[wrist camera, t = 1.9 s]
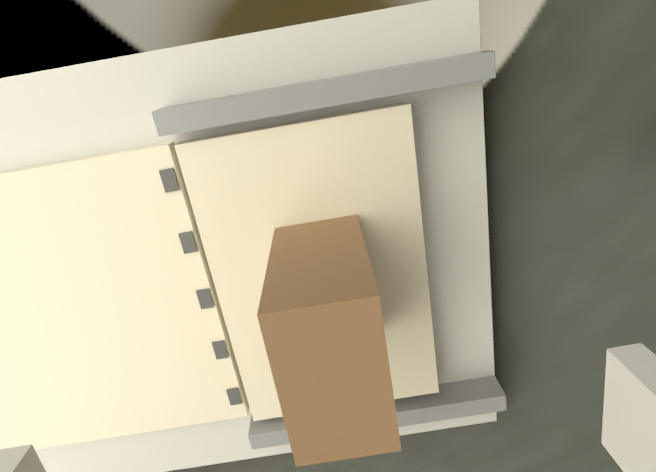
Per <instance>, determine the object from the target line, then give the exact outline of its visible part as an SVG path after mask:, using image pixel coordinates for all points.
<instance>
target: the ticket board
mask: <svg viewBox="0 0 656 472" xmlns="http://www.w3.org/2000/svg"><path fill="white" fill-rule="evenodd" d="M491 78H496V68H495V51H481V39H480V16H479V0H430V1H425V2H419V3H414V4H409V5H403V6H397V7H392V8H387V9H381V10H375V11H370V12H364V13H359V14H353V15H348V16H342V17H337V18H331V19H326V20H320V21H315V22H309V23H304V24H299V25H293V26H287V27H282V28H276V29H271V30H265V31H260V32H254V33H248V34H243V35H237V36H232V37H226V38H221V39H216V40H210V41H205V42H199V43H193V44H188V45H182V46H177V47H171V48H166V49H160V50H155V51H149V52H143V53H138V54H132V55H127V56H121V57H116V58H110V59H105V60H99V61H94V62H88V63H83V64H77V65H72V66H66V67H61V68H55V69H50V70H44V71H39V72H33V73H28V74H22V75H17V76H11V77H5V78H0V449H6V448H12V447H18V446H24V445H30V444H32V445H33V447H34V449H35V451H36V453H37V455H38V457H39V459H40V461H41V463H42V465H43V467H44V469H45V470H46V472H166V471H172V470H179V469H185V468H192V467H198V466H205V465H211V464H218V463H224V462H231V461H237V460H244V459H250V458H257V457H263V456H270V455H276V454H283V453H289V452H292V450H291V446H290V442H289V438H288V434H287V430H286V426H285V422H284V418H283V417H277V418H271V419H264V420H258V421H253V417H252V414H251V410H250V407H249V403H248V400H247V396H246V393H245V389H244V386H243V382H242V379H241V376H240V372H239V369H238V365H237V362H236V358H235V355H234V351H233V348H232V344H231V341H230V337H229V334H228V330H227V327H226V324H225V320H224V317H223V313H222V310H221V306H220V303H219V299H218V296H217V292H216V289H215V285H214V282H213V278H212V275H211V272H210V268H209V265H208V261H207V258H206V254H205V251H204V247H203V244H202V240H201V237H200V233H199V230H198V227H197V223H196V220H195V216H194V213H193V209H192V206H191V202H190V199H189V195H188V192H187V188H186V185H185V181H184V178H183V175H182V171H181V168H180V164H179V161H178V157H177V154H176V150H175V147H174V145H175V144H177V143H178V142H181V141H187V140H193V139H199V138H204V137H210V136H216V135H221V134H227V133H233V132H239V131H244V130H250V129H256V128H261V127H267V126H273V125H279V124H284V123H290V122H296V121H301V120H307V119H313V118H319V117H324V116H330V115H336V114H341V113H347V112H353V111H359V110H364V109H370V108H376V107H382V106H387V105H393V104H399V103H404V102H408V103H410V104H411V111H412V122H413V132H414V142H415V152H416V163H417V173H418V183H419V193H420V204H421V214H422V224H423V234H424V244H425V255H426V265H427V275H428V285H429V296H430V306H431V316H432V326H433V337H434V347H435V357H436V367H437V377H438V388H439V392H438V393H431V394H425V395H418V396H412V397H406V398H399V399H394V401H395V408H396V415H397V422H398V429H399V436H400V435H407V434H413V433H420V432H426V431H433V430H439V429H446V428H452V427H459V426H465V425H472V424H478V423H485V422H491V421H497V419H496V412H500V411H506V395H505V393H504V391H503V389H502V388H501V386H500V384H499V382H498V381H497V379H496V377H495V371H494V348H493V324H492V300H491V276H490V253H489V229H488V205H487V181H486V158H485V134H484V110H483V86H482V80H484V79H491Z"/></svg>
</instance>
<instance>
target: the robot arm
mask: <svg viewBox="0 0 656 472" xmlns="http://www.w3.org/2000/svg"><path fill="white" fill-rule="evenodd" d="M601 443H602V444H603V446H604V447H605V448H606V450H607V451H608V452H609V453H610V455H611V456H612V457H613V459H614V460H615V461H616V463H617V464H618V465H619V467H620V468H621V469H622V471H623V472H656V355H655V354H654V353H652V352H651V351H650V350H649V349H648V348H647V347H645V346H644V345H643V344H642V343H638V344H632V345H626V346H620V347H614V348H608V349H607V357H606V374H605V391H604V408H603V425H602V442H601ZM0 472H46V470H45V469H44V467H43V465H42V463H41V461H40V459H39V457H38V455H37V453H36V451H35V449H34V447H33V445H32V444H30V445H24V446H18V447H12V448H6V449H0Z"/></svg>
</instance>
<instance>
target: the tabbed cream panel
mask: <svg viewBox="0 0 656 472" xmlns="http://www.w3.org/2000/svg"><path fill="white" fill-rule="evenodd" d="M174 147H175V150H176V154H177V157H178V161H179V164H180V168H181V171H182V175H183V178H184V181H185V185H186V188H187V192H188V195H189V199H190V202H191V206H192V209H193V213H194V216H195V220H196V223H197V227H198V230H199V233H200V237H201V240H202V244H203V247H204V251H205V254H206V258H207V261H208V265H209V268H210V272H211V275H212V278H213V282H214V285H215V289H216V292H217V296H218V299H219V303H220V306H221V310H222V313H223V317H224V320H225V324H226V327H227V330H228V334H229V337H230V341H231V344H232V348H233V351H234V355H235V358H236V362H237V365H238V369H239V372H240V376H241V379H242V382H243V386H244V389H245V393H246V396H247V400H248V403H249V407H250V410H251V414H252V417H253V421H258V420H264V419H271V418H277V417H283V418H284V422H285V426H286V430H287V434H288V438H289V442H290V446H291V450H292V453H293V457H294V461H295V465H296V467H299V466H306V465H312V464H319V463H325V462H332V461H339V460H345V459H352V458H358V457H365V456H371V455H378V454H384V453H391V452H398V451H402V450H401V443H400V436H399V429H398V422H397V415H396V408H395V401H394V399H399V398H406V397H412V396H418V395H425V394H431V393H438V392H439V388H438V377H437V367H436V357H435V347H434V337H433V326H432V316H431V306H430V296H429V285H428V275H427V265H426V255H425V244H424V234H423V224H422V214H421V204H420V193H419V183H418V173H417V163H416V152H415V142H414V132H413V122H412V111H411V104H410V103H408V102H404V103H399V104H393V105H387V106H382V107H376V108H370V109H364V110H359V111H353V112H347V113H341V114H336V115H330V116H324V117H319V118H313V119H307V120H301V121H296V122H290V123H284V124H279V125H273V126H267V127H261V128H256V129H250V130H244V131H239V132H233V133H227V134H221V135H216V136H210V137H204V138H199V139H193V140H187V141H181V142H178V143H177V144H175V145H174Z"/></svg>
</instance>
